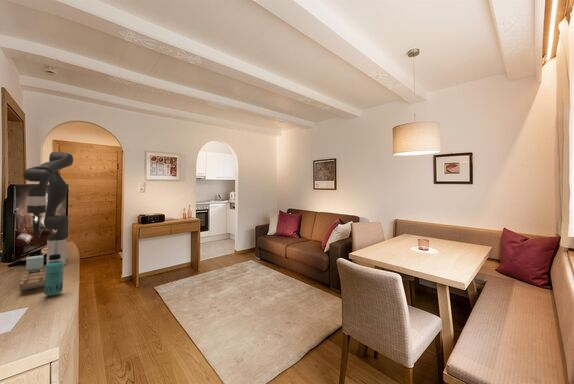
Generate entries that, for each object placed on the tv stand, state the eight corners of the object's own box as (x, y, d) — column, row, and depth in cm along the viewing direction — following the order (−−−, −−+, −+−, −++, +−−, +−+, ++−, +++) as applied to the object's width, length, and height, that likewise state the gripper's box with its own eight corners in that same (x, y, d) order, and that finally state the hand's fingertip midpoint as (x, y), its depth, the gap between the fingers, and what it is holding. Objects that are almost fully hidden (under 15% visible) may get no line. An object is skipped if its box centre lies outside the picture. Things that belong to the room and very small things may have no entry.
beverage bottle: (41, 296, 115) (42, 255, 115) (59, 291, 121) (60, 252, 121) (47, 300, 112) (48, 257, 112) (65, 294, 118) (66, 254, 118)
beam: (21, 282, 131) (21, 268, 131) (47, 278, 138) (47, 264, 138) (17, 297, 114) (18, 281, 114) (47, 291, 121) (47, 276, 121)
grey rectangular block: (26, 270, 131) (26, 257, 131) (43, 268, 135) (43, 255, 135) (25, 273, 127) (26, 259, 127) (43, 270, 132) (43, 257, 132)
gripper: (27, 203, 138) (27, 234, 138) (26, 205, 128) (25, 237, 128) (46, 203, 143) (45, 232, 143) (46, 205, 134) (45, 236, 134)
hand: (36, 235), depth 136 cm, fingers closed
